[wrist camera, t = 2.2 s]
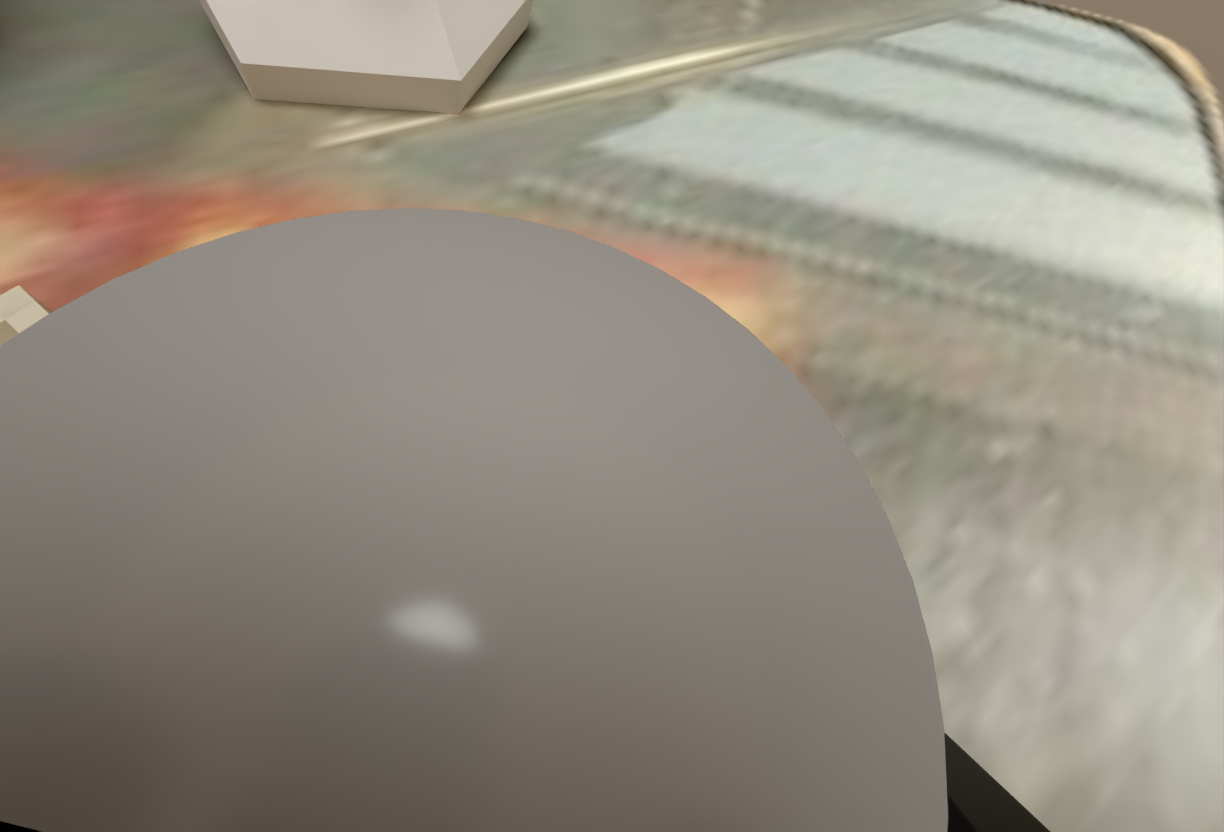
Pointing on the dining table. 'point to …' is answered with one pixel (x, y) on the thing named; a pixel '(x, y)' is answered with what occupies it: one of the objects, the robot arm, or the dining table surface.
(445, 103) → the white faceted sculpture
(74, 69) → the dining table surface
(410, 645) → the salt shaker
